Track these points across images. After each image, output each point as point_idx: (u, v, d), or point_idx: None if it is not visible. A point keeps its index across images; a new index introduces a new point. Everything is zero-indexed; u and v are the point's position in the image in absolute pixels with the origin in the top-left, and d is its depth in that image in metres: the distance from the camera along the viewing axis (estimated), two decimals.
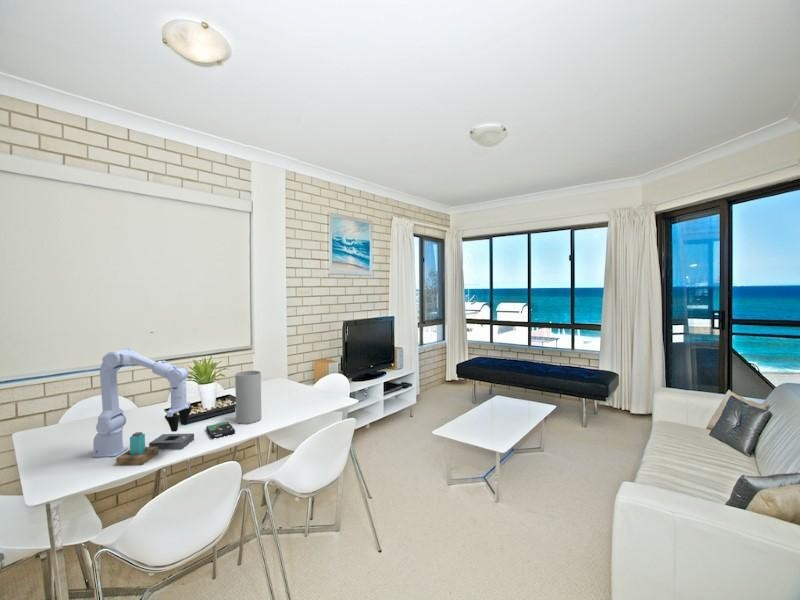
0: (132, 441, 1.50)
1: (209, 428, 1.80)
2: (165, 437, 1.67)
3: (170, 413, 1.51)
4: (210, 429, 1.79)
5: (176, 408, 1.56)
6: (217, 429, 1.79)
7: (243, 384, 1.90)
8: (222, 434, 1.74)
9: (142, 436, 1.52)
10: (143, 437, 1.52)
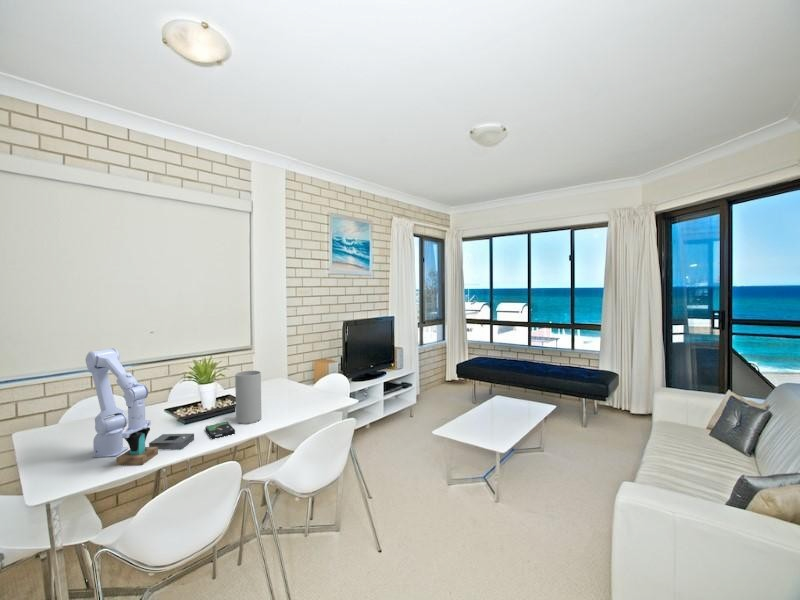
0: None
1: (208, 428, 1.80)
2: (165, 437, 1.67)
3: (126, 434, 1.44)
4: (210, 429, 1.78)
5: (133, 428, 1.48)
6: (217, 429, 1.79)
7: (243, 384, 1.90)
8: (222, 434, 1.74)
9: (142, 436, 1.52)
10: (143, 437, 1.52)
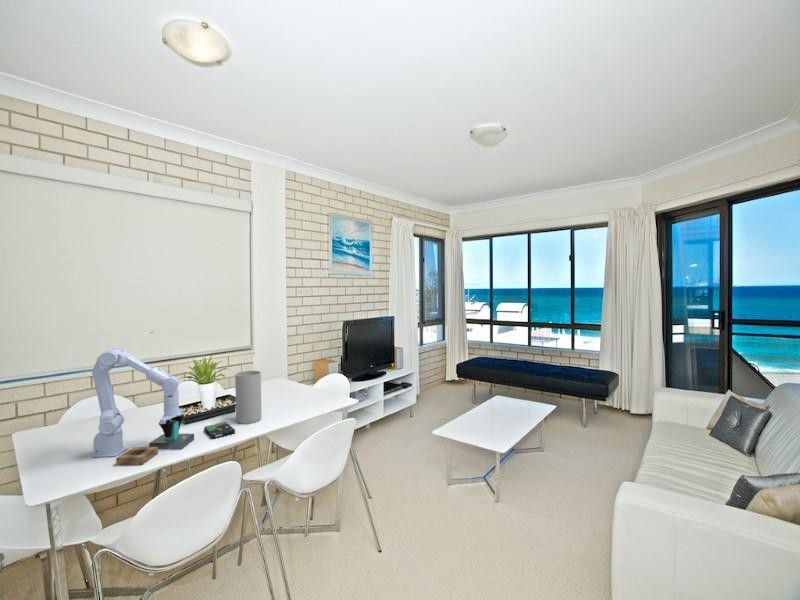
0: None
1: (208, 428, 1.79)
2: (165, 437, 1.67)
3: (163, 420, 1.58)
4: (209, 429, 1.78)
5: (169, 415, 1.63)
6: (217, 429, 1.78)
7: (243, 384, 1.90)
8: (222, 434, 1.74)
9: (176, 423, 1.66)
10: (177, 424, 1.67)
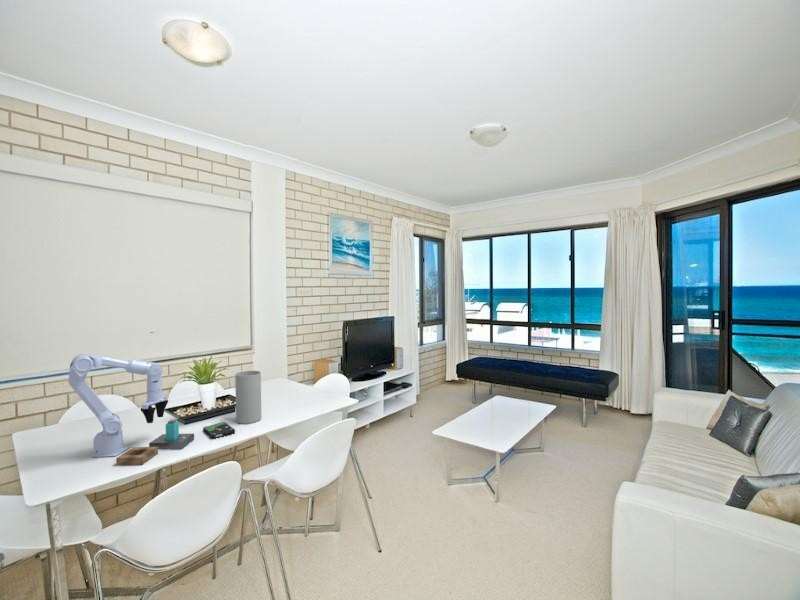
0: (168, 428, 1.64)
1: (207, 429, 1.79)
2: (165, 437, 1.67)
3: (145, 405, 1.61)
4: (208, 430, 1.78)
5: (152, 401, 1.65)
6: (216, 429, 1.78)
7: (243, 384, 1.90)
8: (223, 434, 1.74)
9: (176, 423, 1.66)
10: (177, 424, 1.67)
